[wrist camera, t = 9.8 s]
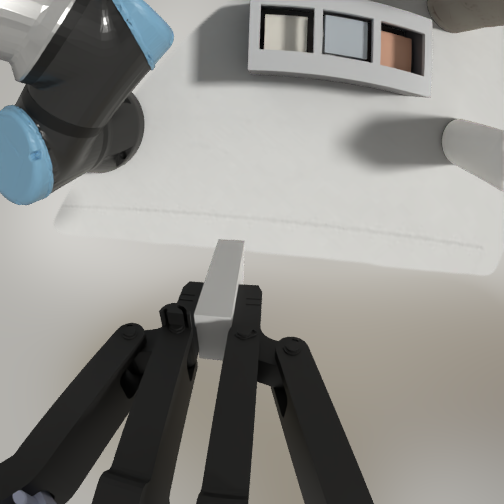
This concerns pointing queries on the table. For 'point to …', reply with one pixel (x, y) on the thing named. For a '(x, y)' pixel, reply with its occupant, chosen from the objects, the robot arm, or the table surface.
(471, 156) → the white milk bottle
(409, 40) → the key terracotta
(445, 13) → the thermos bottle
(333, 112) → the table surface
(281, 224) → the table surface
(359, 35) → the key slate
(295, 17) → the key ivory
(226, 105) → the table surface
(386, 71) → the keypad housing
